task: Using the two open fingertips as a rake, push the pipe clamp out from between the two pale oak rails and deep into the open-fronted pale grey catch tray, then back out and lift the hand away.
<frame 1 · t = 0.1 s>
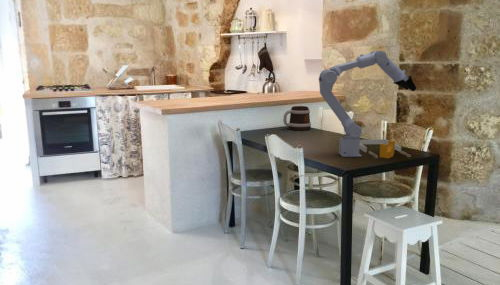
hand: (411, 89, 207), 32 cm above the table, tool tilted 50°, fingers open, 7 cm apart
slot guide: (389, 155, 210), on the table
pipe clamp: (388, 156, 211), on the table
mug: (296, 129, 288), on the table
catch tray: (376, 148, 228), on the table
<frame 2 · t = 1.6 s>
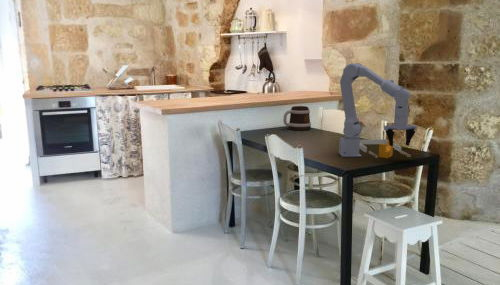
hand: (399, 145, 198), 7 cm above the table, tool pointing down, fingers open, 7 cm apart
nothing on the table moved.
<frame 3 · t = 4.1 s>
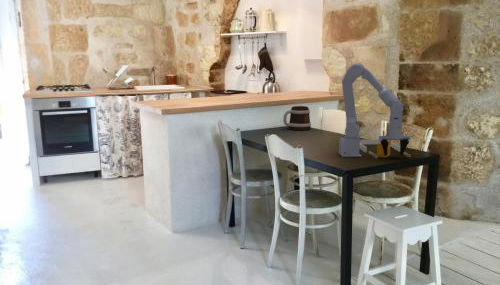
hand: (393, 155, 205), 1 cm above the table, tool pointing down, fingers open, 7 cm apart
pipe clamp: (385, 155, 212), on the table, touching gripper
everything else where it was.
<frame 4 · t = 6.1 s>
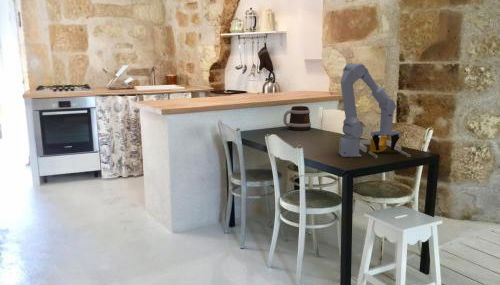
hand: (384, 150, 216), 1 cm above the table, tool pointing down, fingers open, 7 cm apart
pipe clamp: (379, 150, 223), on the table, touching gripper
everything else where it was.
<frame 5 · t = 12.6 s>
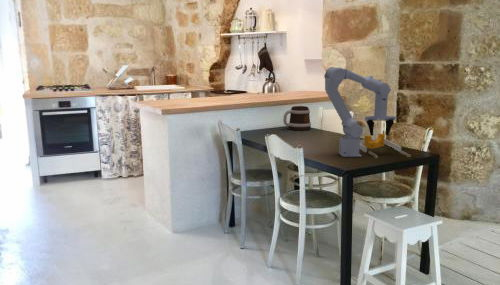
hand: (379, 135, 212), 9 cm above the table, tool pointing down, fingers open, 7 cm apart
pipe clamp: (375, 147, 232), on the table
everything else where it was.
at the end: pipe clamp inside the target area on the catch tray (3.6 cm from its centre), point 0.0 cm above the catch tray's base; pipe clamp moved 21.5 cm from its start; the gripper is holding nothing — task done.
